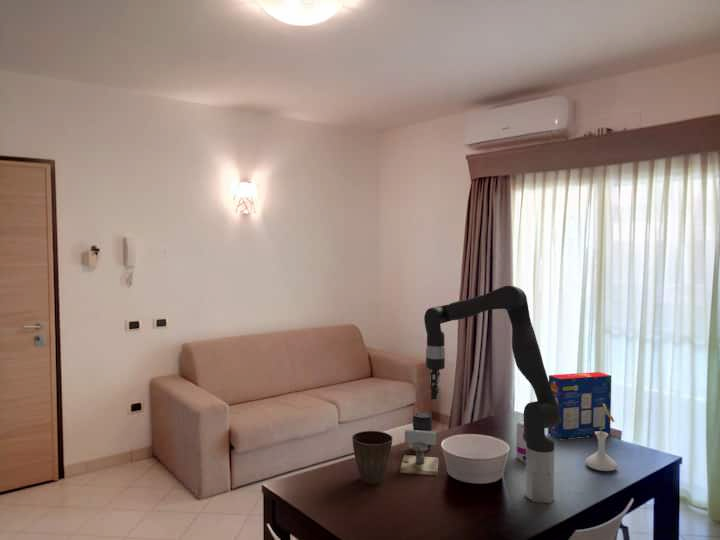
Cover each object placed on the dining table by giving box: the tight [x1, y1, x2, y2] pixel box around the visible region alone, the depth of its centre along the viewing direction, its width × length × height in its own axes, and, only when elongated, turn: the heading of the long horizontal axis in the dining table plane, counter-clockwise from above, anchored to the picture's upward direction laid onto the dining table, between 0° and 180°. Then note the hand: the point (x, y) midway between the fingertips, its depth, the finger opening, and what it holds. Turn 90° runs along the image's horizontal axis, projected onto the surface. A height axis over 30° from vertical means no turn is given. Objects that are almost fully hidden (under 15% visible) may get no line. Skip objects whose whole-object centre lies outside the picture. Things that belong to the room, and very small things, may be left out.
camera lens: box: [412, 412, 433, 453], centre depth 226 cm, size 8×8×15 cm
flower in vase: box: [584, 403, 618, 472], centre depth 208 cm, size 13×11×25 cm
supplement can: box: [515, 419, 526, 462], centre depth 216 cm, size 8×8×15 cm
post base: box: [399, 451, 440, 476], centre depth 207 cm, size 14×14×7 cm
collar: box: [404, 429, 437, 453], centre depth 207 cm, size 12×6×7 cm, turn 79°
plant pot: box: [351, 430, 394, 485], centre depth 194 cm, size 15×15×16 cm
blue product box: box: [547, 371, 612, 441], centre depth 246 cm, size 28×8×28 cm, turn 106°
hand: (434, 396), depth 212 cm, fingers open, 8 cm apart
